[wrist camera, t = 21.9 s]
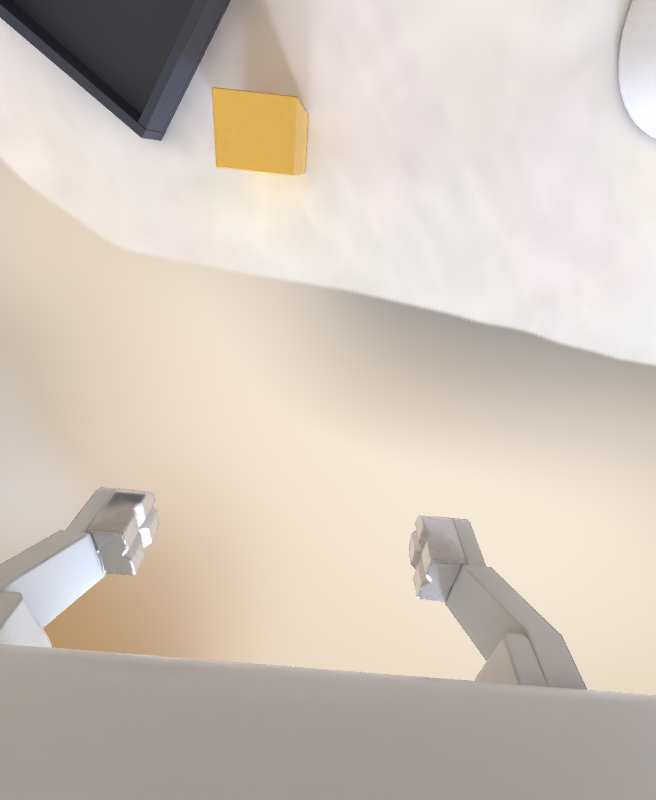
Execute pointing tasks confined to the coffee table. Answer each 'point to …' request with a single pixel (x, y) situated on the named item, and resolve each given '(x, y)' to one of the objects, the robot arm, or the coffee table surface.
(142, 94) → the pan
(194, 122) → the coffee table surface
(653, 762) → the robot arm
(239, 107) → the cheese
